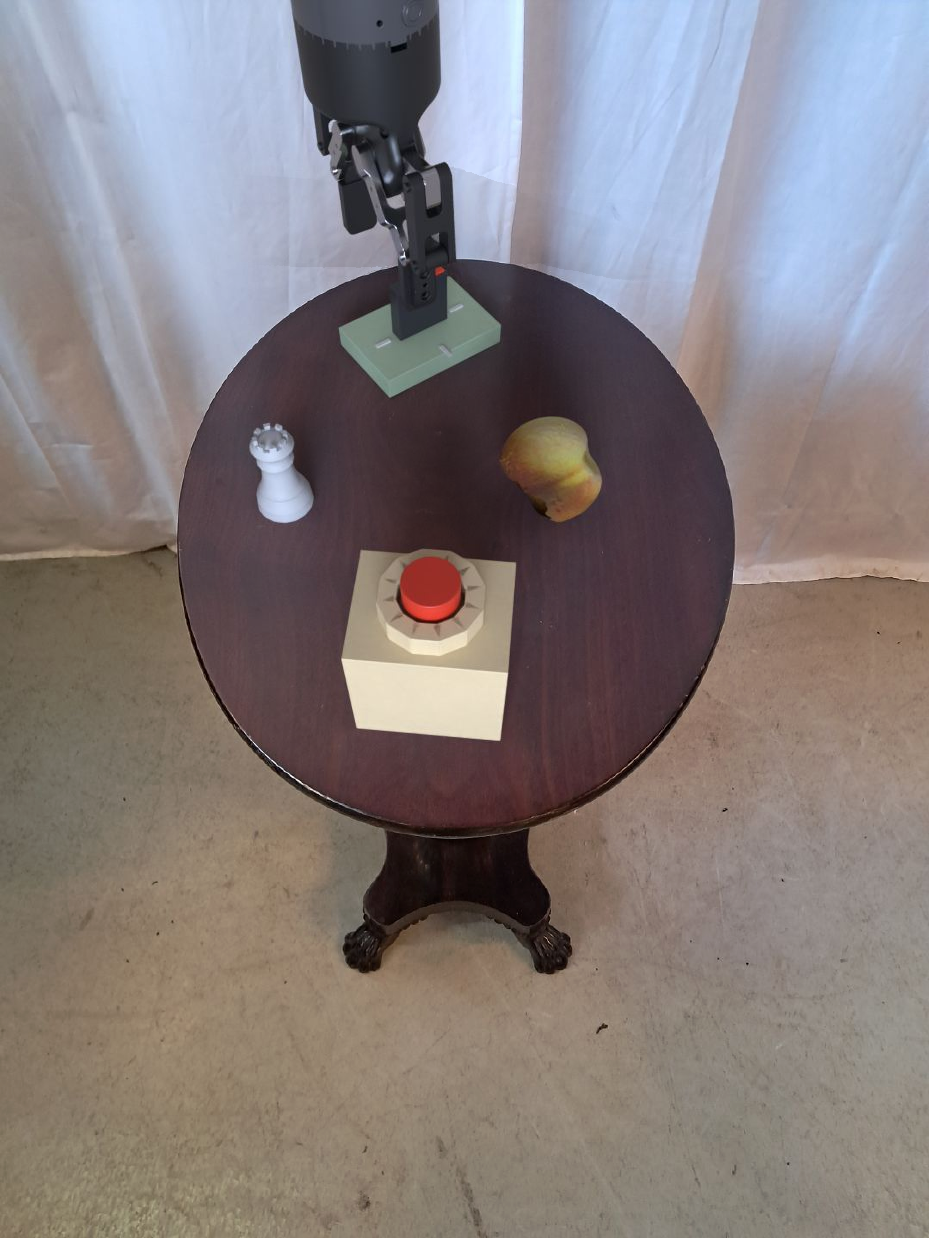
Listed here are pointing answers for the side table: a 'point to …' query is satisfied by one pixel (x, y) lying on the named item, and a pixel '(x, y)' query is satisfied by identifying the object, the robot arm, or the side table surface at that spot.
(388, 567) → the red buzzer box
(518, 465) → the fruit
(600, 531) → the side table surface
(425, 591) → the red push button
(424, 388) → the side table surface
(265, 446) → the rook chess piece
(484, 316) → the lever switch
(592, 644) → the side table surface
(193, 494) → the side table surface
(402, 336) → the black box
